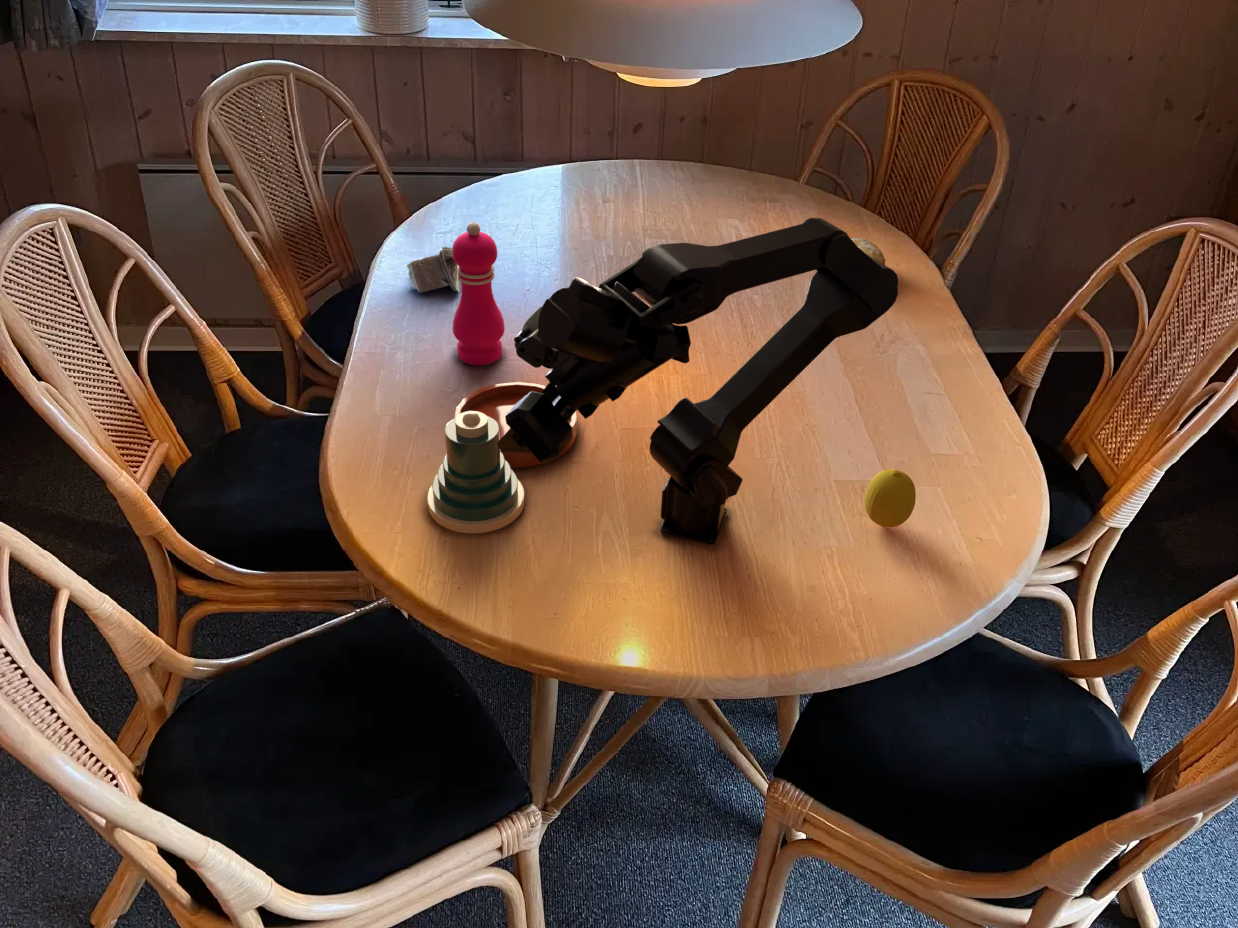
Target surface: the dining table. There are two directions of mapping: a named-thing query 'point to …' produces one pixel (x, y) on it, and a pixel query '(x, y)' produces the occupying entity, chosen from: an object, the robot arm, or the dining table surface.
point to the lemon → (890, 498)
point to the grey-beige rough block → (434, 272)
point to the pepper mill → (477, 299)
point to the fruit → (869, 249)
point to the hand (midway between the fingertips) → (519, 424)
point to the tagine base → (497, 406)
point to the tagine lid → (474, 479)
